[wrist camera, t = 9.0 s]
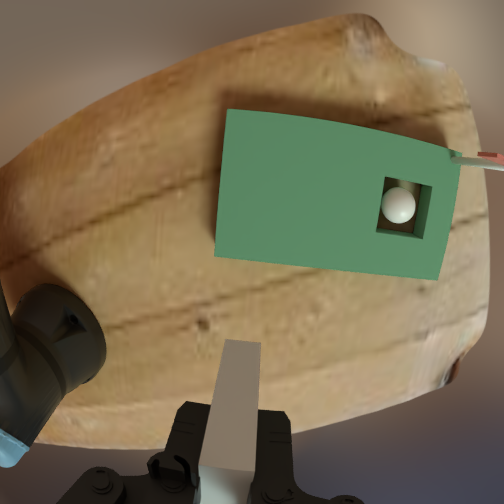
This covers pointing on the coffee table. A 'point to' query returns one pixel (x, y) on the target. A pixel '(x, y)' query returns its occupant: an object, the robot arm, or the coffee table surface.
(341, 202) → the green
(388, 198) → the ball
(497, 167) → the pin
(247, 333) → the coffee table surface
